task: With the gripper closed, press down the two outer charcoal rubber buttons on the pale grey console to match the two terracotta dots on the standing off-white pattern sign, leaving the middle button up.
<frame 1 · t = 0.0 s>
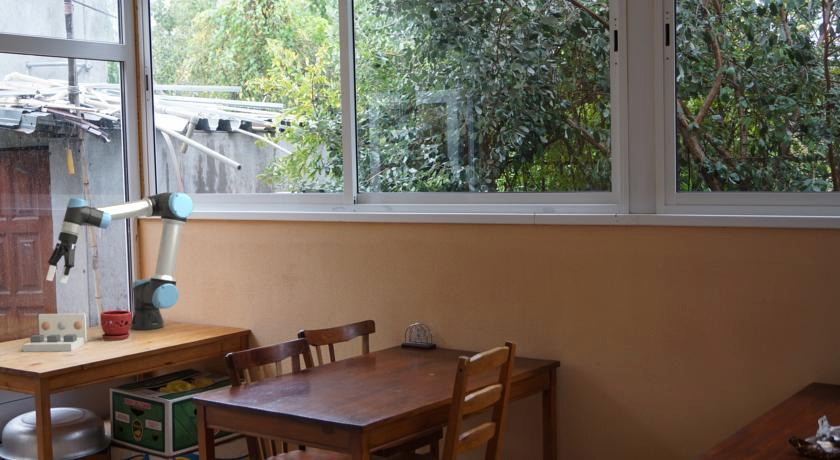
hand: (55, 281, 397), 28 cm above the table, tool tilted 20°, fingers open, 13 cm apart
outer button 2: (37, 339, 395), point 4 cm above the table, slide at 0.0 cm
console: (54, 348, 395), on the table
pattern sign: (63, 343, 405), on the table
mug: (71, 339, 416), on the table
middle button: (53, 338, 395), point 4 cm above the table, slide at 0.0 cm
outer button 1: (70, 338, 395), point 4 cm above the table, slide at 0.0 cm
plant pot: (117, 339, 415), on the table
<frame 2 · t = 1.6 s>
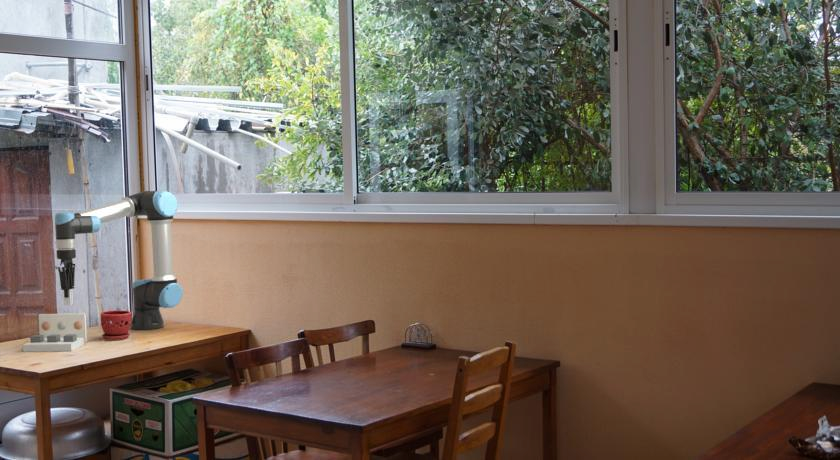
hand: (68, 304, 394), 18 cm above the table, tool pointing down, fingers closed
nothing on the table moved.
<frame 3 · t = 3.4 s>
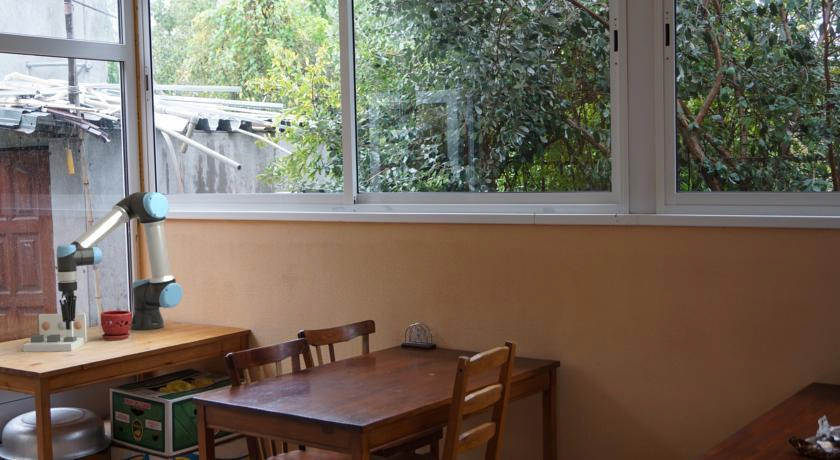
hand: (69, 336, 395), 5 cm above the table, tool pointing down, fingers closed
outer button 1: (70, 340, 395), point 3 cm above the table, slide at 1.0 cm, touching gripper
everything else where it was.
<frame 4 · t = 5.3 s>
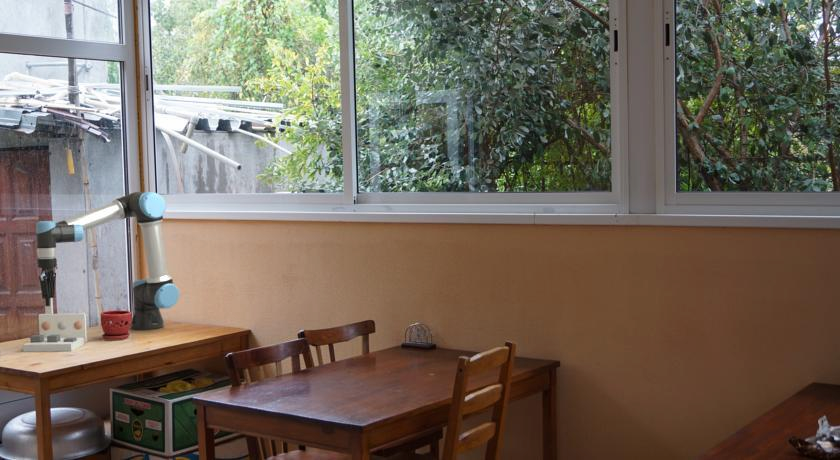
hand: (49, 313, 394), 15 cm above the table, tool pointing down, fingers closed
outer button 1: (70, 341, 395), point 3 cm above the table, slide at 1.4 cm
everything else where it was.
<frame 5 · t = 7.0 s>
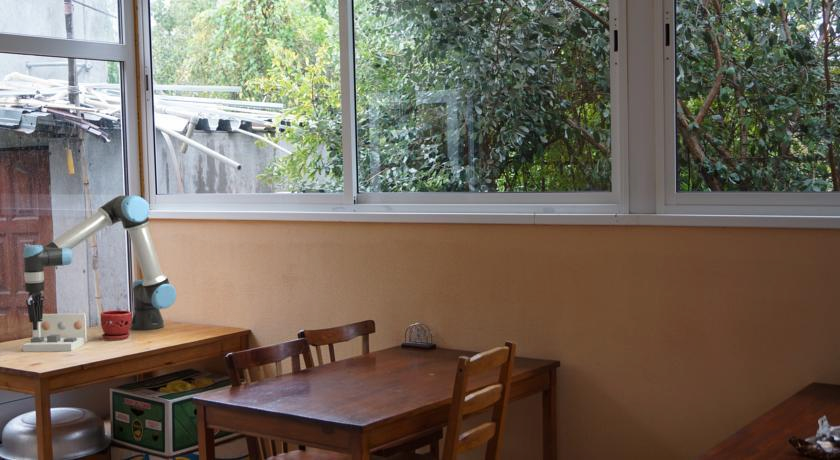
hand: (36, 337, 395), 5 cm above the table, tool pointing down, fingers closed
outer button 2: (37, 341, 395), point 3 cm above the table, slide at 0.9 cm, touching gripper
everything else where it was.
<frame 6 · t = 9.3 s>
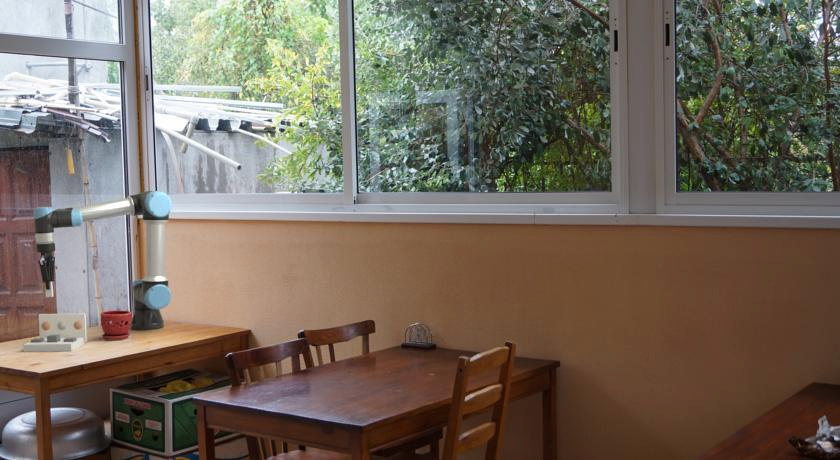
hand: (49, 296, 405), 20 cm above the table, tool pointing down, fingers closed
outer button 2: (37, 342, 395), point 3 cm above the table, slide at 1.4 cm
everything else where it was.
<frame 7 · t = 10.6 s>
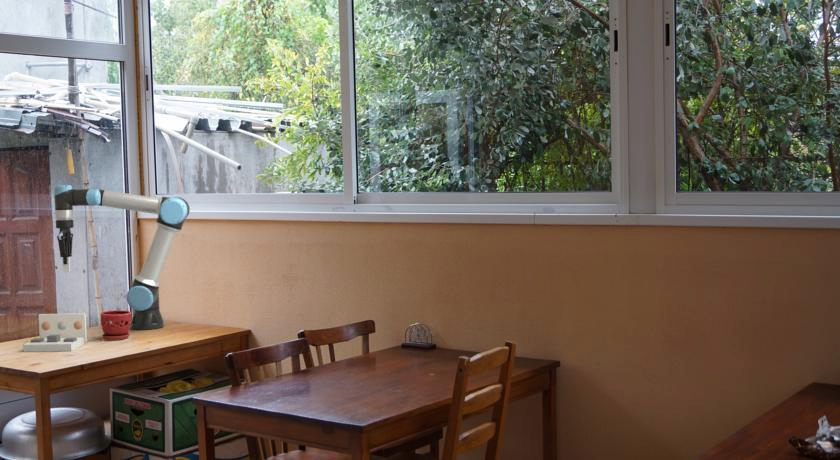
hand: (66, 271, 423), 29 cm above the table, tool pointing down, fingers closed
nothing on the table moved.
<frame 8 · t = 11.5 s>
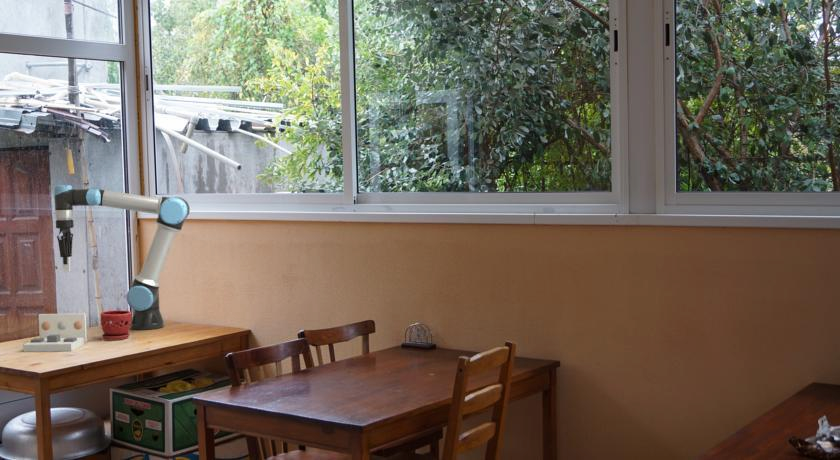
hand: (66, 271, 423), 29 cm above the table, tool pointing down, fingers closed
nothing on the table moved.
at the end: outer button 1 slide at 1.4 cm; outer button 2 slide at 1.4 cm; middle button slide at 0.0 cm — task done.
